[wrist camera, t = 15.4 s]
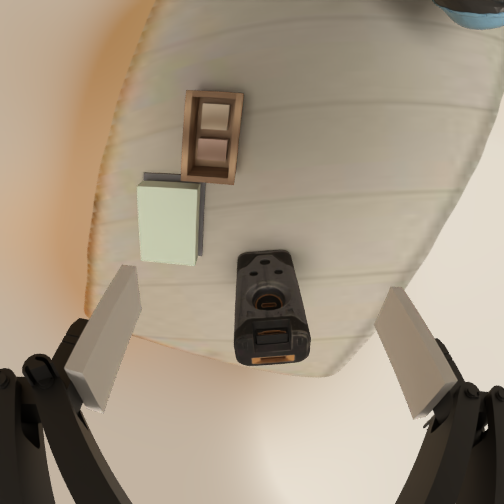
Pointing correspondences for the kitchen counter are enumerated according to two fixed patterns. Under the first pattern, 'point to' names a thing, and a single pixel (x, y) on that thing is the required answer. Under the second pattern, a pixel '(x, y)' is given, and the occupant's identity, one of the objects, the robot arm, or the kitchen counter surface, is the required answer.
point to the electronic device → (269, 311)
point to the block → (168, 221)
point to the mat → (178, 179)
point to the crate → (211, 136)
